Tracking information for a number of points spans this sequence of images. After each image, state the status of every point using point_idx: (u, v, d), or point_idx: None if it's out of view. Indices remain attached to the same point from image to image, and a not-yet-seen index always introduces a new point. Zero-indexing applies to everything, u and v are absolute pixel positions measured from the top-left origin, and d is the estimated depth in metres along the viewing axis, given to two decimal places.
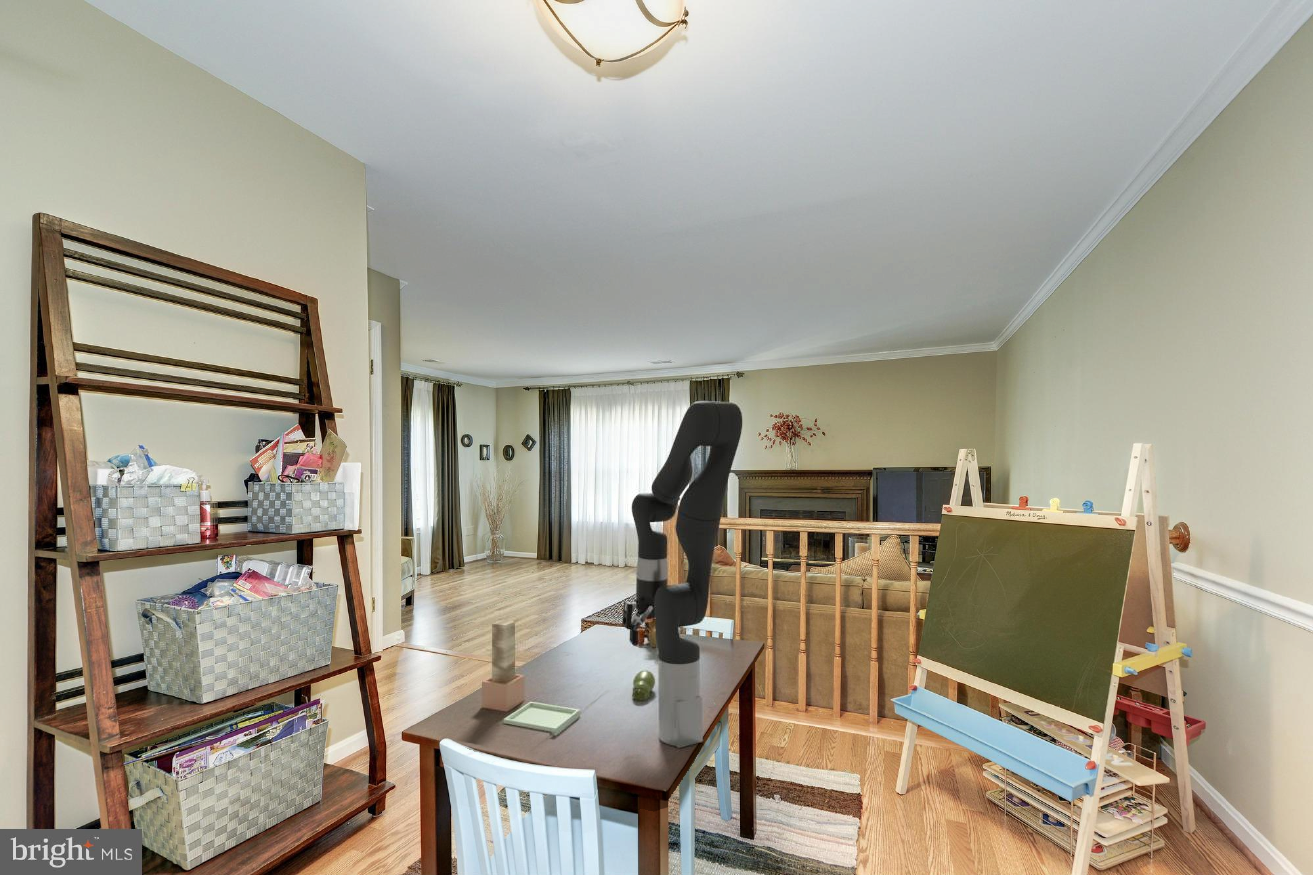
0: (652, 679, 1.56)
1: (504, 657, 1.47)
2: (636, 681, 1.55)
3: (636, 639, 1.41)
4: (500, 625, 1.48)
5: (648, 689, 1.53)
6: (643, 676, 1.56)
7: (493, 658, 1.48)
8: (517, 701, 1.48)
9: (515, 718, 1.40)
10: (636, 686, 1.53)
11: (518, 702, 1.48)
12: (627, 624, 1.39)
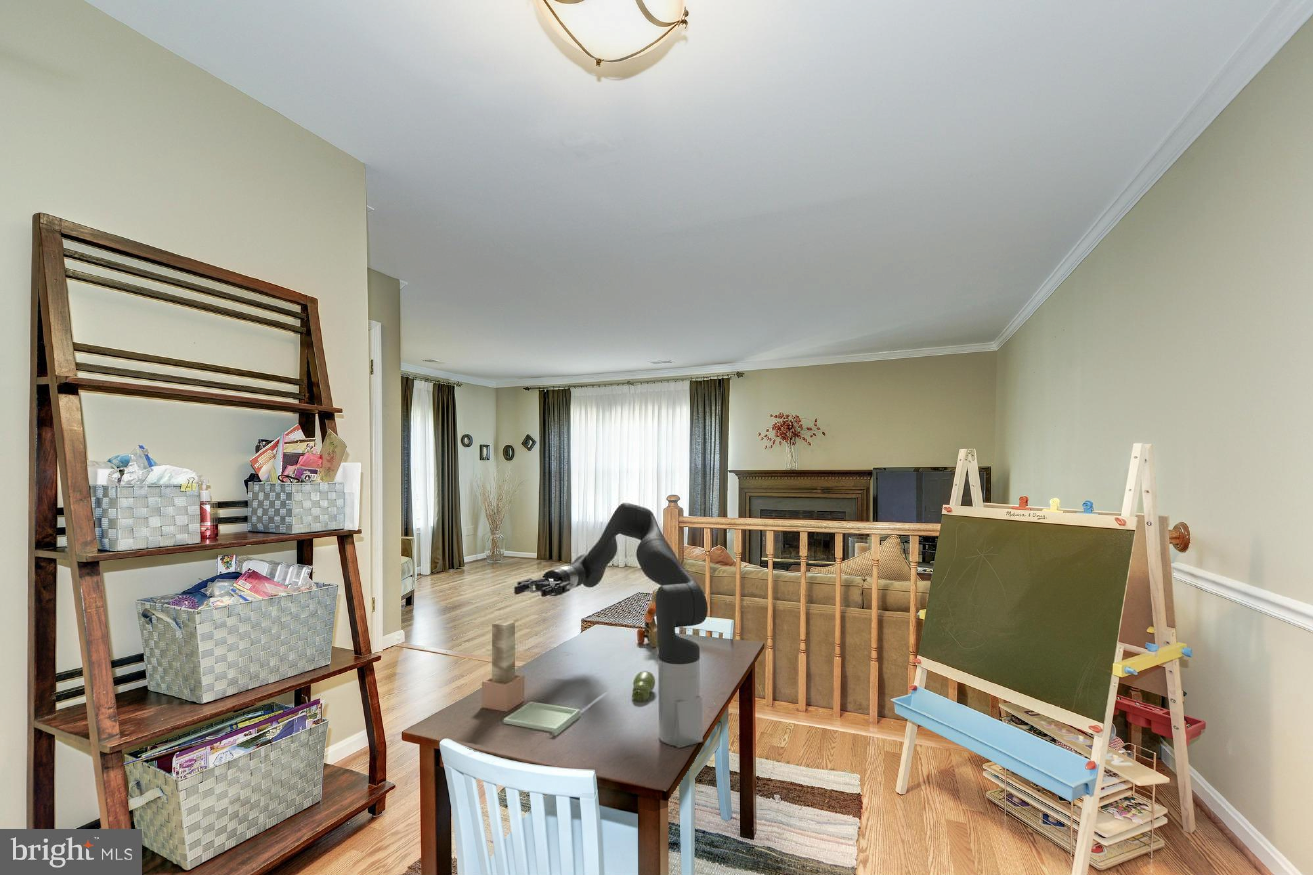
0: (652, 680, 1.56)
1: (504, 657, 1.47)
2: (636, 682, 1.55)
3: (518, 585, 1.64)
4: (500, 625, 1.48)
5: (648, 690, 1.53)
6: (643, 676, 1.56)
7: (493, 658, 1.48)
8: (517, 701, 1.48)
9: (515, 718, 1.40)
10: (636, 687, 1.52)
11: (518, 702, 1.48)
12: (519, 581, 1.68)
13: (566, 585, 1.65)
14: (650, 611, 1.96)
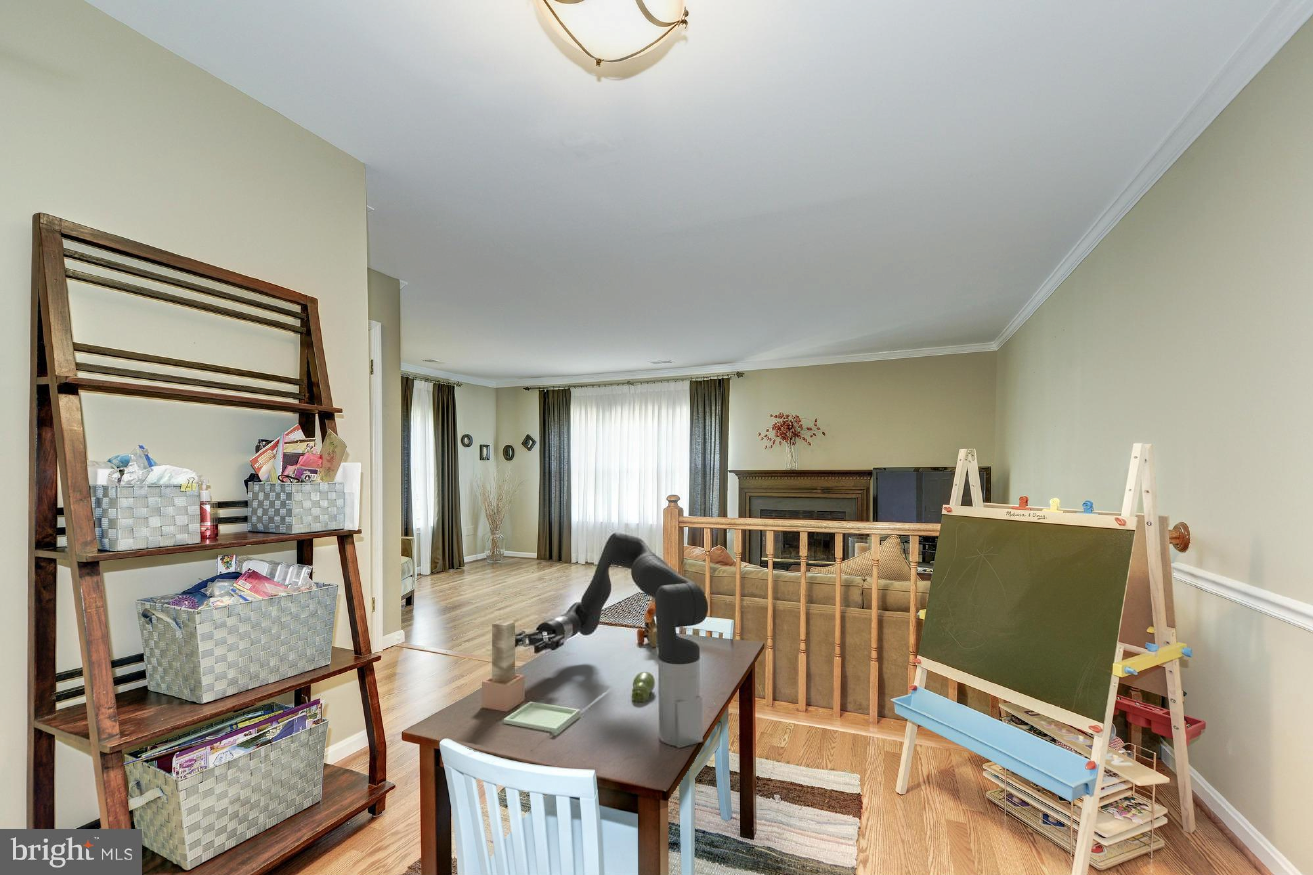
0: (652, 680, 1.55)
1: (504, 657, 1.47)
2: (636, 682, 1.54)
3: None
4: (500, 625, 1.48)
5: (647, 690, 1.52)
6: (643, 677, 1.55)
7: (493, 658, 1.48)
8: (517, 701, 1.48)
9: (515, 718, 1.40)
10: (635, 687, 1.52)
11: (518, 702, 1.48)
12: None
13: (560, 639, 1.61)
14: (650, 611, 1.96)
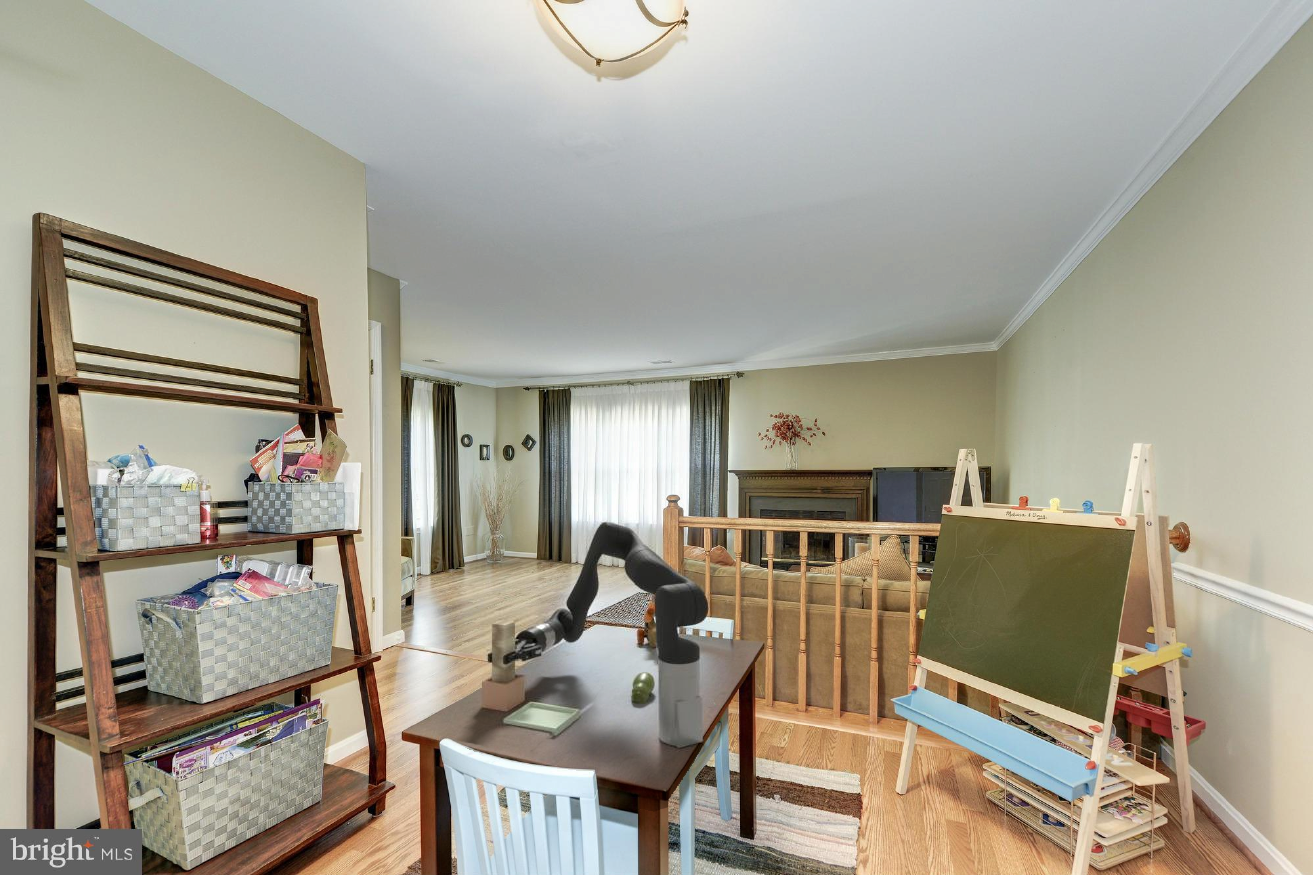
0: (651, 681, 1.55)
1: None
2: (635, 683, 1.54)
3: None
4: (500, 625, 1.48)
5: (647, 691, 1.52)
6: (643, 678, 1.55)
7: (493, 658, 1.48)
8: (517, 701, 1.48)
9: (515, 718, 1.40)
10: (635, 688, 1.51)
11: (518, 702, 1.48)
12: None
13: (534, 650, 1.51)
14: (649, 611, 1.96)
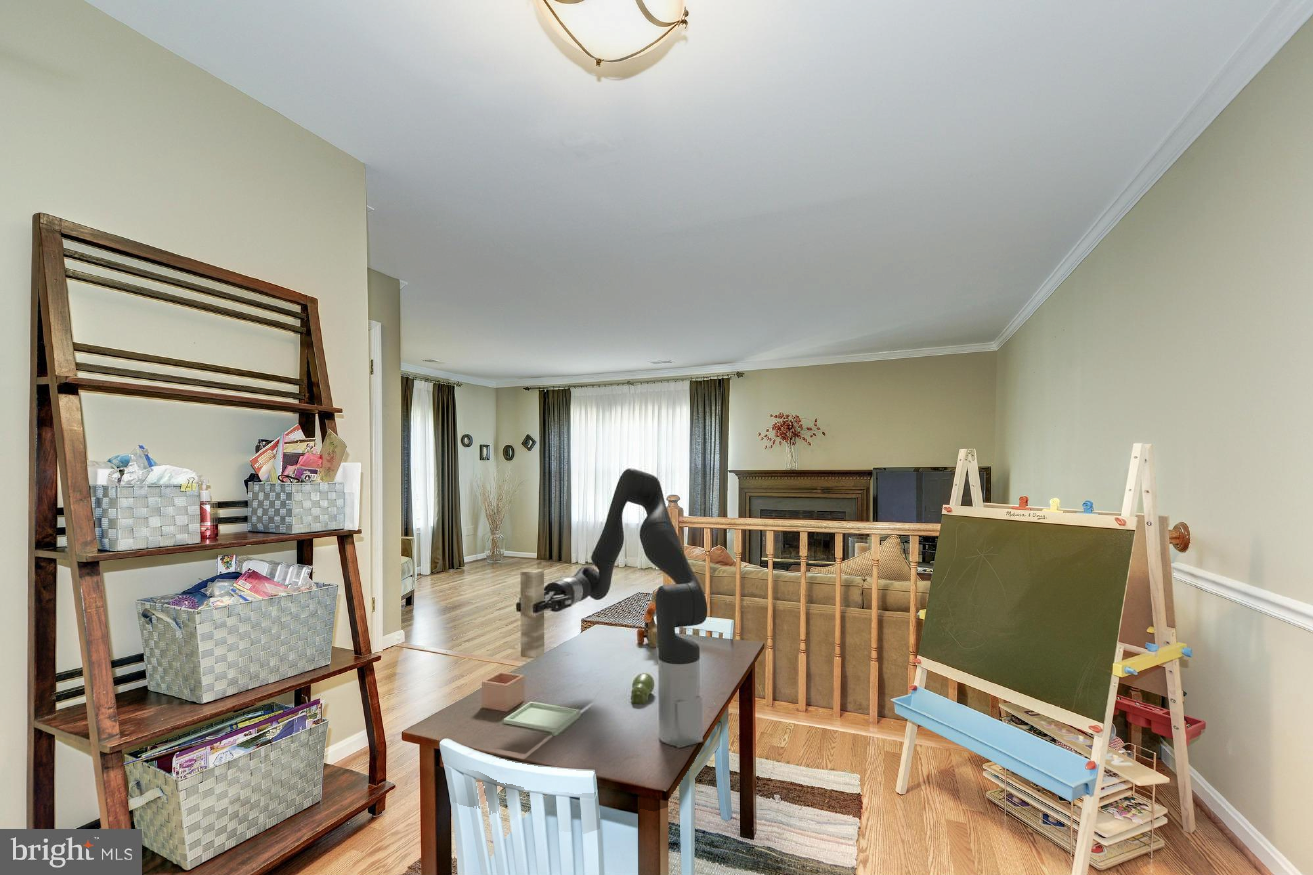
0: (651, 682, 1.54)
1: None
2: (635, 684, 1.53)
3: None
4: (529, 572, 1.41)
5: (647, 692, 1.51)
6: (642, 678, 1.54)
7: (522, 607, 1.42)
8: (517, 701, 1.48)
9: (515, 718, 1.40)
10: (635, 689, 1.51)
11: (518, 702, 1.48)
12: None
13: (564, 600, 1.45)
14: (649, 611, 1.96)
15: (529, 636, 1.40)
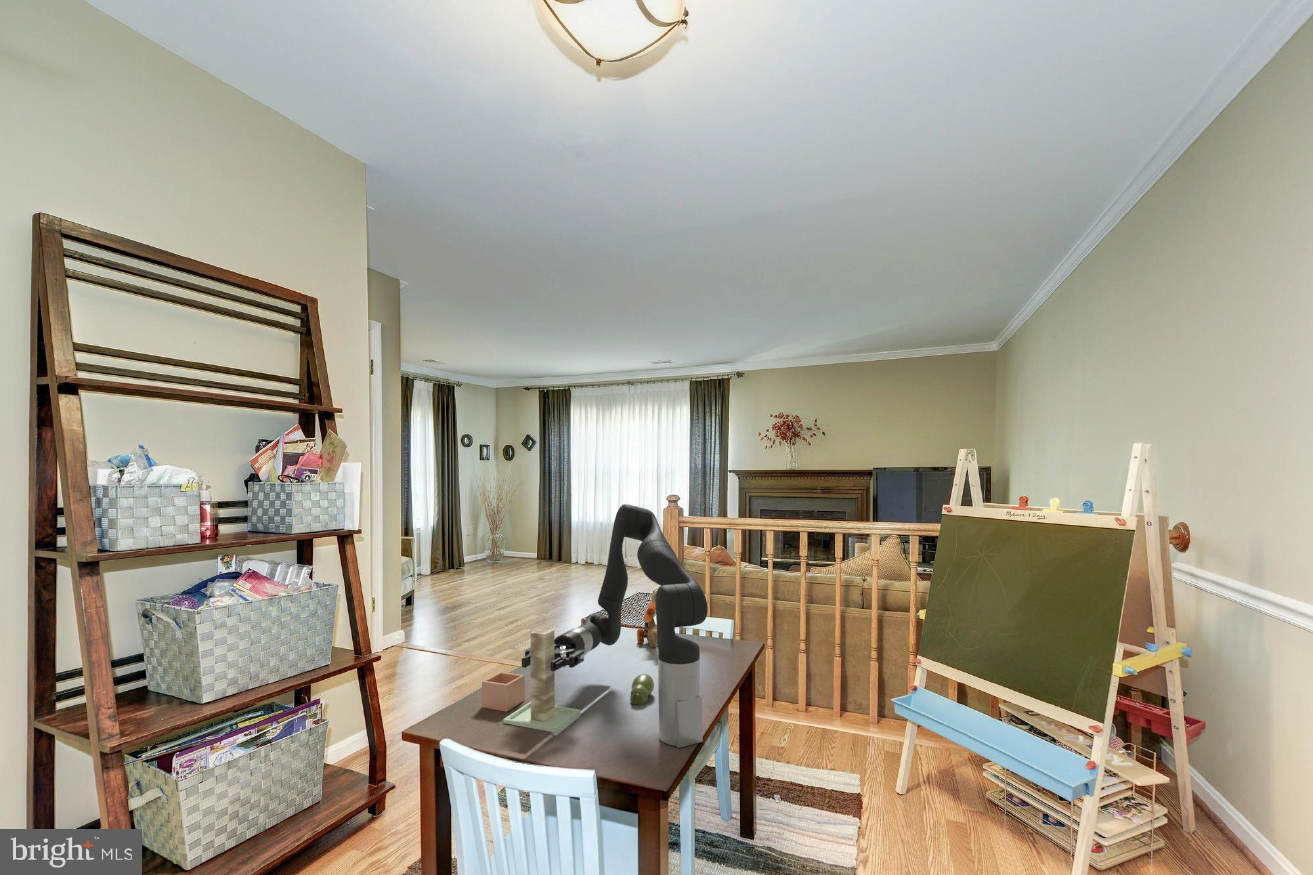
0: (651, 683, 1.54)
1: (544, 668, 1.38)
2: (634, 685, 1.53)
3: (526, 656, 1.42)
4: (539, 634, 1.39)
5: (646, 693, 1.51)
6: (642, 679, 1.54)
7: (532, 669, 1.40)
8: (517, 701, 1.48)
9: (515, 718, 1.40)
10: (634, 690, 1.50)
11: (518, 702, 1.48)
12: (527, 650, 1.47)
13: (579, 655, 1.44)
14: (649, 611, 1.96)
15: (539, 699, 1.38)
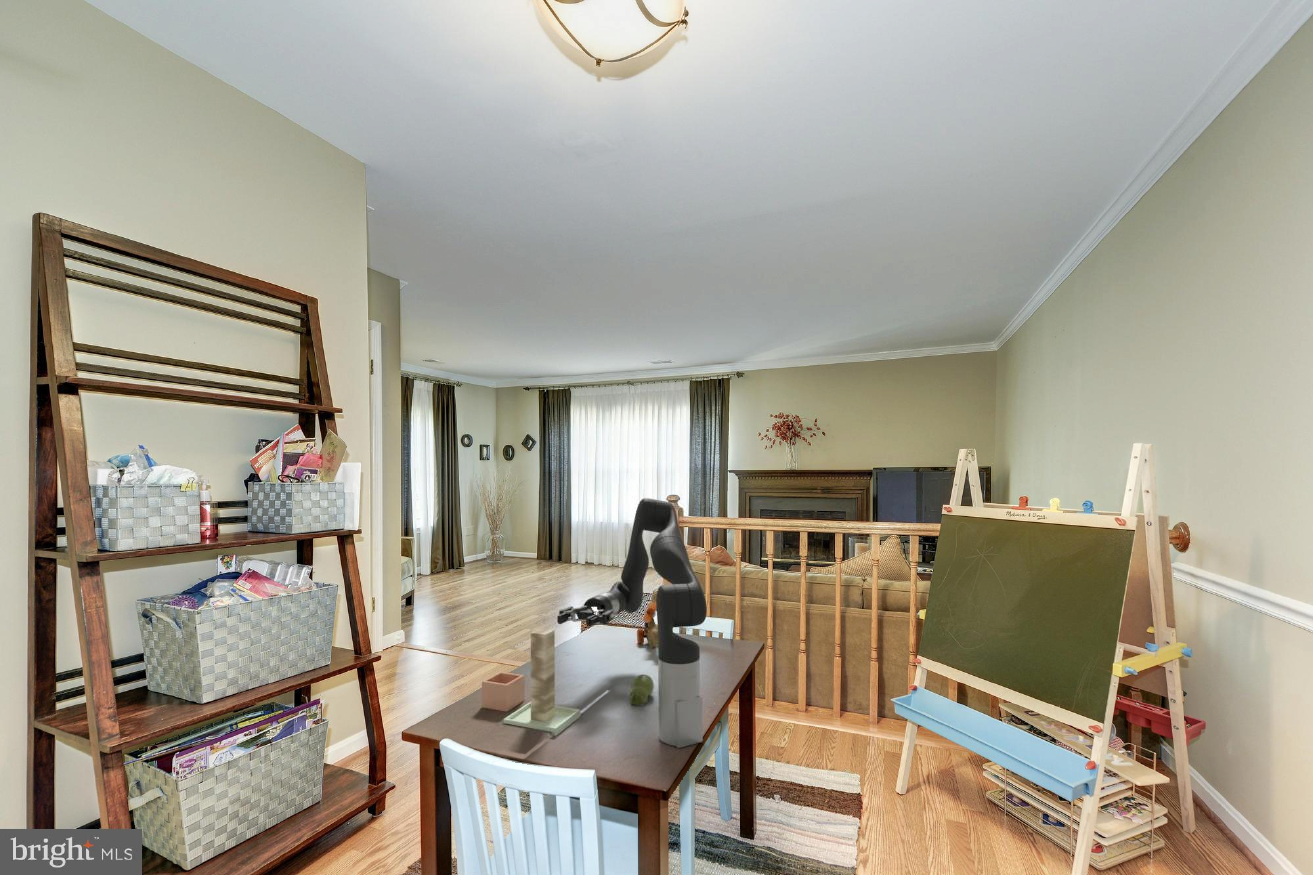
0: (650, 683, 1.53)
1: (544, 668, 1.38)
2: (634, 685, 1.52)
3: (561, 614, 1.58)
4: (539, 634, 1.39)
5: (646, 693, 1.50)
6: (641, 680, 1.53)
7: (532, 669, 1.40)
8: (517, 701, 1.48)
9: (515, 718, 1.40)
10: (634, 690, 1.50)
11: (518, 702, 1.48)
12: (561, 610, 1.62)
13: (610, 613, 1.59)
14: (649, 611, 1.96)
15: (539, 699, 1.38)
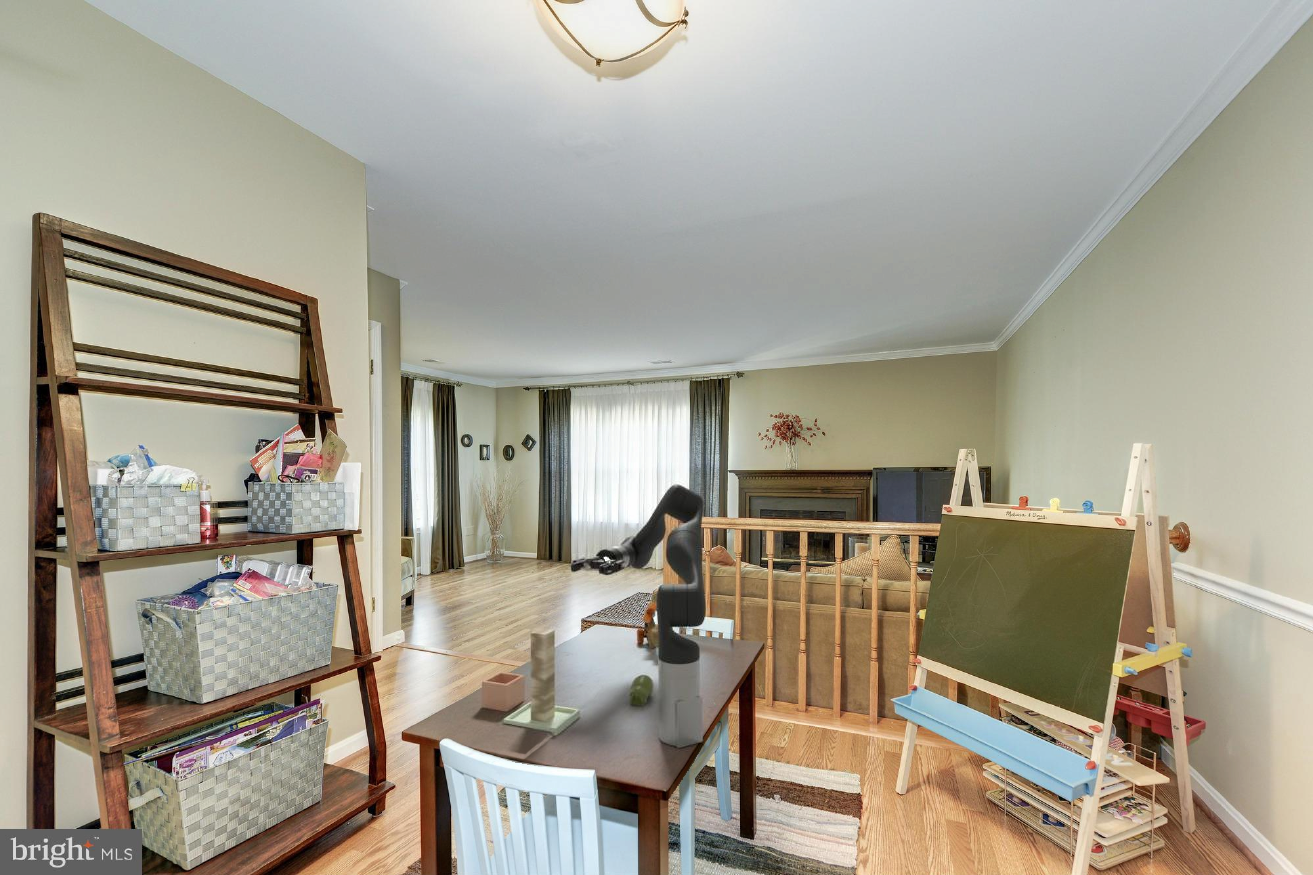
0: (650, 684, 1.53)
1: (544, 668, 1.38)
2: (634, 686, 1.52)
3: (575, 563, 1.65)
4: (539, 634, 1.39)
5: (646, 694, 1.50)
6: (641, 680, 1.53)
7: (532, 669, 1.40)
8: (517, 701, 1.48)
9: (515, 718, 1.40)
10: (633, 691, 1.50)
11: (518, 702, 1.48)
12: (574, 560, 1.69)
13: (621, 563, 1.66)
14: (649, 611, 1.96)
15: (539, 699, 1.38)
